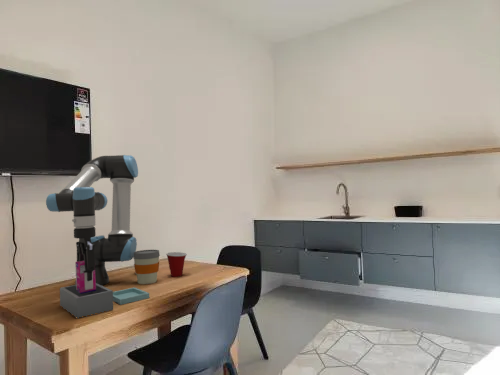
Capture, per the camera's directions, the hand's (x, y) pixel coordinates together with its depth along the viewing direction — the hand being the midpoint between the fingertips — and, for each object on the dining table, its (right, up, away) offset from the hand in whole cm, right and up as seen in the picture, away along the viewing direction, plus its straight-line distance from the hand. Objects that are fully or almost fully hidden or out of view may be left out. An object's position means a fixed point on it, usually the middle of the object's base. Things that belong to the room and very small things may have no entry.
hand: (86, 287), depth 129 cm
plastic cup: (+24, -9, +50) cm, 56 cm away
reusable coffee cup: (+12, -9, +38) cm, 41 cm away
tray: (+12, -8, +11) cm, 18 cm away
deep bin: (0, -8, -1) cm, 8 cm away
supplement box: (0, -2, 0) cm, 2 cm away
